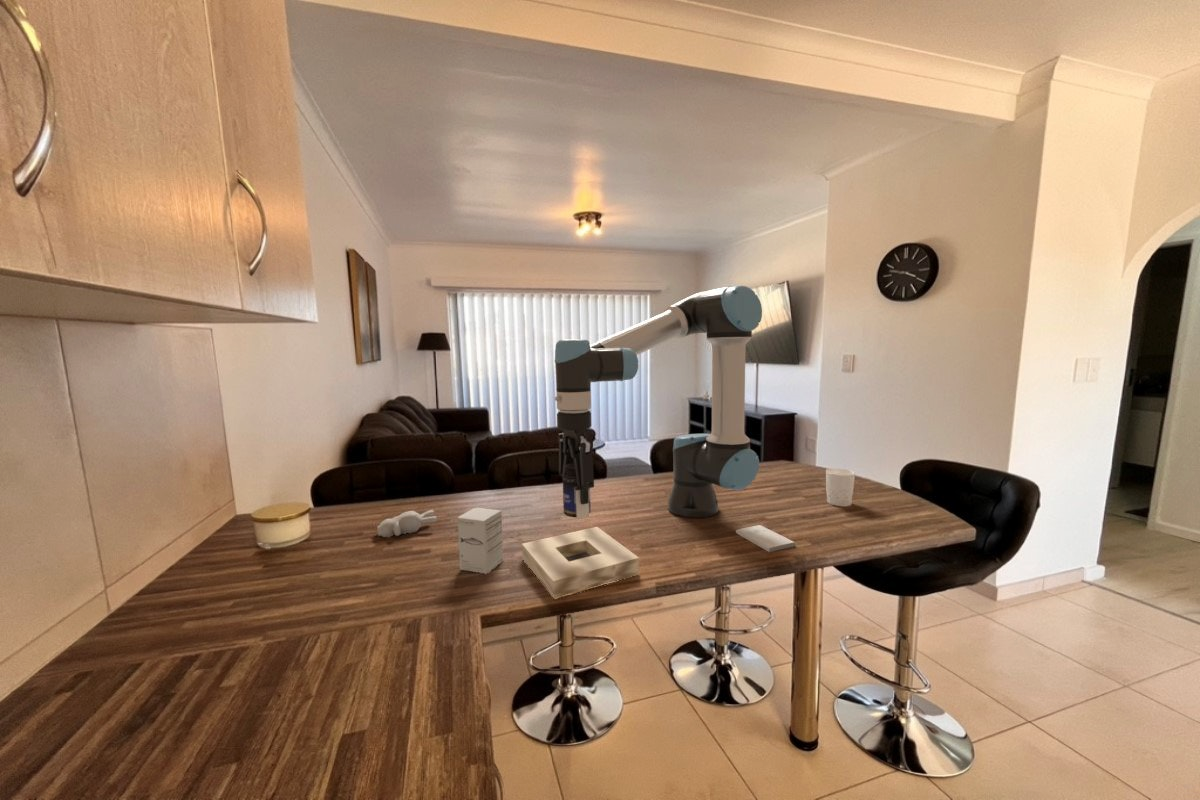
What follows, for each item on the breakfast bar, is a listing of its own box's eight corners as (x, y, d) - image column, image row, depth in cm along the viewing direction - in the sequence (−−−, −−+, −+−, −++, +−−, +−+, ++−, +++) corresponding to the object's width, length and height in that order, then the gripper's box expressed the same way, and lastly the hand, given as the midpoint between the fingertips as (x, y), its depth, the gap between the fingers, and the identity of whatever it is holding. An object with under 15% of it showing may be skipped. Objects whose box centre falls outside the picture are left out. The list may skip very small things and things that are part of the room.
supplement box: (459, 570, 103) (455, 517, 101) (478, 556, 110) (475, 506, 108) (486, 575, 100) (483, 520, 99) (504, 560, 107) (502, 509, 106)
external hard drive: (768, 554, 109) (735, 535, 120) (795, 548, 112) (760, 529, 123) (768, 547, 109) (735, 529, 120) (795, 541, 111) (760, 524, 123)
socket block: (597, 541, 117) (596, 526, 116) (639, 575, 99) (638, 557, 99) (522, 559, 107) (521, 543, 107) (553, 600, 90) (553, 581, 89)
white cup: (829, 506, 138) (830, 474, 137) (821, 498, 145) (822, 468, 144) (857, 507, 136) (859, 475, 135) (847, 499, 144) (849, 468, 143)
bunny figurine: (375, 517, 127) (431, 502, 133) (379, 534, 127) (434, 518, 134) (376, 528, 118) (435, 512, 125) (380, 547, 119) (439, 529, 125)
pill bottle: (560, 511, 103) (558, 463, 102) (584, 506, 106) (583, 460, 105) (569, 520, 98) (567, 470, 97) (595, 515, 100) (593, 466, 99)
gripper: (542, 407, 106) (545, 502, 108) (576, 417, 89) (579, 530, 92) (571, 404, 109) (574, 497, 112) (609, 414, 92) (611, 523, 95)
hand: (576, 512), depth 102 cm, fingers closed on pill bottle, 6 cm apart
